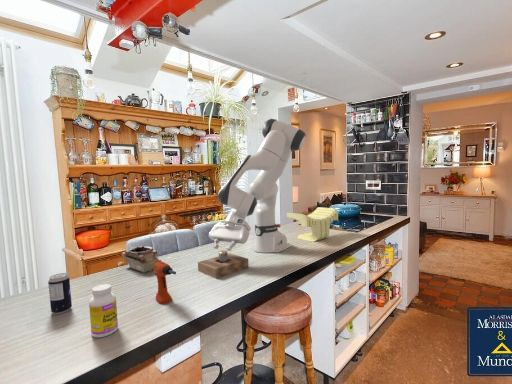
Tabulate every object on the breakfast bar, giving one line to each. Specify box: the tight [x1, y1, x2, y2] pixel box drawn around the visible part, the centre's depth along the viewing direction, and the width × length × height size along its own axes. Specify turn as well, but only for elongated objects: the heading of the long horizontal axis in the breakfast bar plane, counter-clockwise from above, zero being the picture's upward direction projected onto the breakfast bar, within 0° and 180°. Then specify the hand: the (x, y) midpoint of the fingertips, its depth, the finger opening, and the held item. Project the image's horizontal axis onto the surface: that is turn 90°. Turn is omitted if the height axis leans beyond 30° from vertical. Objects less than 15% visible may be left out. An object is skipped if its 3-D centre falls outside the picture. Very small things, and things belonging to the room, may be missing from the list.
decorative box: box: [121, 245, 160, 273], centre depth 132 cm, size 13×20×10 cm, turn 46°
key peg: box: [218, 250, 229, 263], centre depth 126 cm, size 4×4×8 cm
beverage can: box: [47, 272, 73, 315], centre depth 92 cm, size 6×6×12 cm
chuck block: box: [197, 252, 250, 279], centre depth 127 cm, size 18×14×4 cm
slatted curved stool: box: [286, 206, 339, 242], centre depth 176 cm, size 30×16×18 cm, turn 129°
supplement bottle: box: [88, 283, 119, 338], centre depth 78 cm, size 7×7×13 cm
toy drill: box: [153, 259, 177, 305], centre depth 94 cm, size 5×18×14 cm, turn 38°
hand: (221, 249), depth 126 cm, fingers open, 6 cm apart
